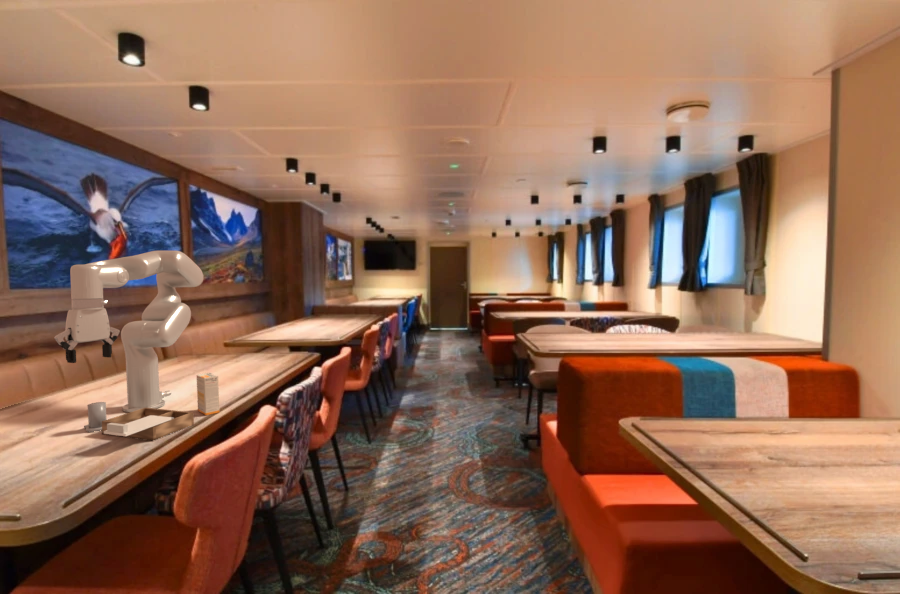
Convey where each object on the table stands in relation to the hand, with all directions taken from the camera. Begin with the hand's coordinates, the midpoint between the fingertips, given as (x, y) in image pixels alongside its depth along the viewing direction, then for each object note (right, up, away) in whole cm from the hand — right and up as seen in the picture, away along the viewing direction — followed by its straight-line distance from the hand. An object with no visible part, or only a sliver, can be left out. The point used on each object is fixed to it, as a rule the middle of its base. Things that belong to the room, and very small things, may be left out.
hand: (90, 359), depth 134 cm
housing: (+17, -22, +1) cm, 28 cm away
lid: (+21, -18, -8) cm, 29 cm away
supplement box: (+26, -21, +19) cm, 39 cm away
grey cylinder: (+1, -22, +2) cm, 22 cm away
